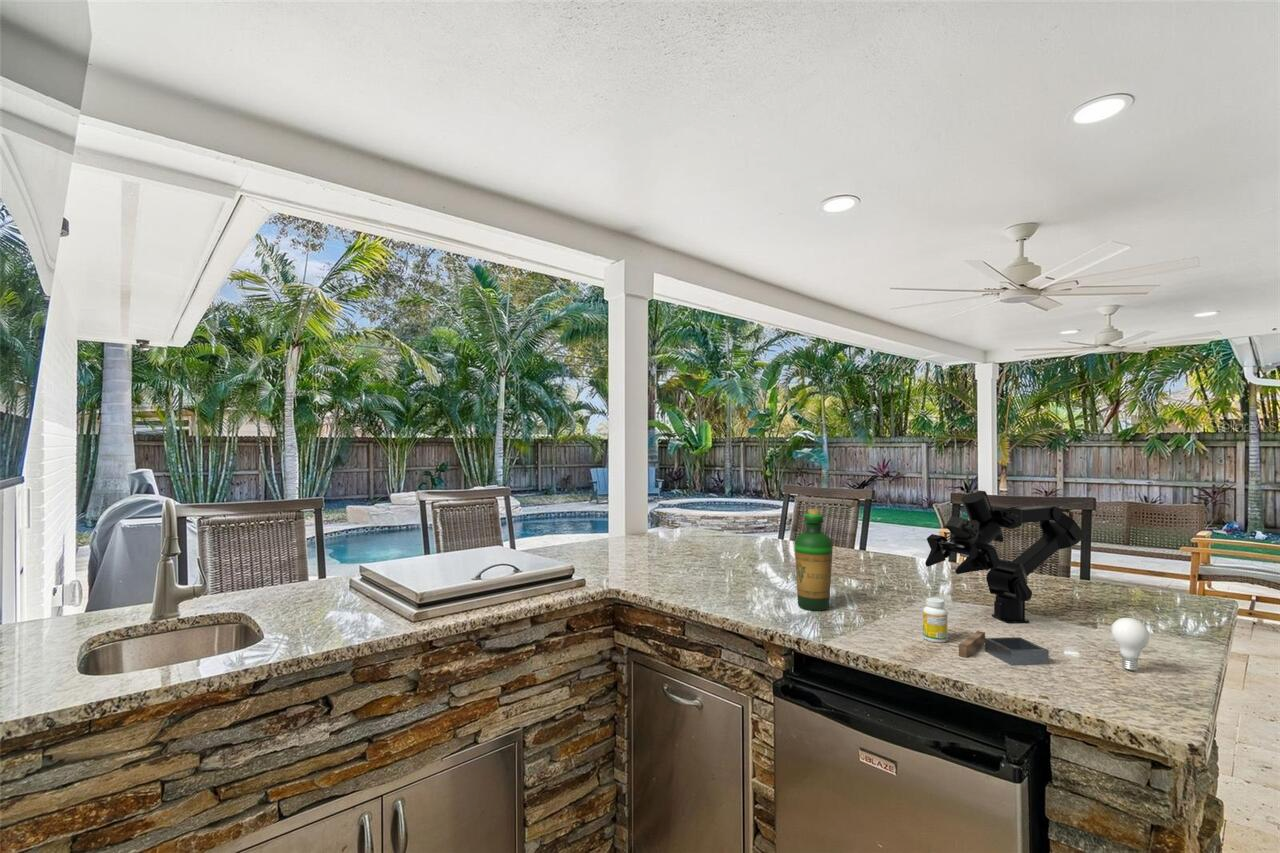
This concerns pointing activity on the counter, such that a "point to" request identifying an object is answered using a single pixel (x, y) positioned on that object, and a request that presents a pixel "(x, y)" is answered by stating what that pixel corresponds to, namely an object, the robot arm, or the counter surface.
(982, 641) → the brown wooden bar
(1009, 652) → the metal pocket
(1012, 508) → the robot arm
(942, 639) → the supplement bottle
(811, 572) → the bottle
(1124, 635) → the lightbulb
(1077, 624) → the counter surface
